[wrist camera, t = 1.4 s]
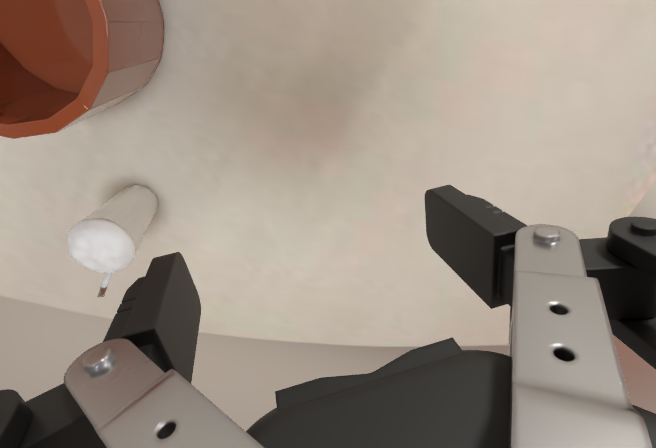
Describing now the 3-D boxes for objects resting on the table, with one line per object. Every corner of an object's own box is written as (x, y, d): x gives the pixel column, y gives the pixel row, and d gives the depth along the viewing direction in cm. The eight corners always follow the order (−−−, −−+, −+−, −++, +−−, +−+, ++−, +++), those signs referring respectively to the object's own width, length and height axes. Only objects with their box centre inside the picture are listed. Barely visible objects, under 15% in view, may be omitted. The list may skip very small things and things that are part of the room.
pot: (-72, -27, 25) (-264, -53, 16) (68, -144, 23) (-65, -245, 14) (76, 132, 31) (-8, 175, 22) (199, 49, 29) (160, 61, 20)
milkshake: (121, 230, 35) (66, 297, 27) (108, 177, 33) (43, 233, 24) (170, 229, 36) (133, 296, 27) (161, 177, 33) (116, 232, 25)
